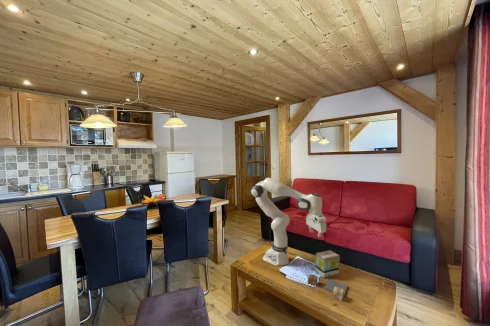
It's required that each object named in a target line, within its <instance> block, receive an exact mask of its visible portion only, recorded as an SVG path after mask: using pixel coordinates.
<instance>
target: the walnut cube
mask: <svg viewBox="0 0 490 326" xmlns="http://www.w3.org/2000/svg"><path fill="white" fill-rule="evenodd" d="M307 284H308V285H309V284H311V285H310V286H312V285H313V287H316V286H315V285H317V284H318V276H317V275H314V274H311V273H310V274H309V275H308V276H307Z"/></svg>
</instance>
